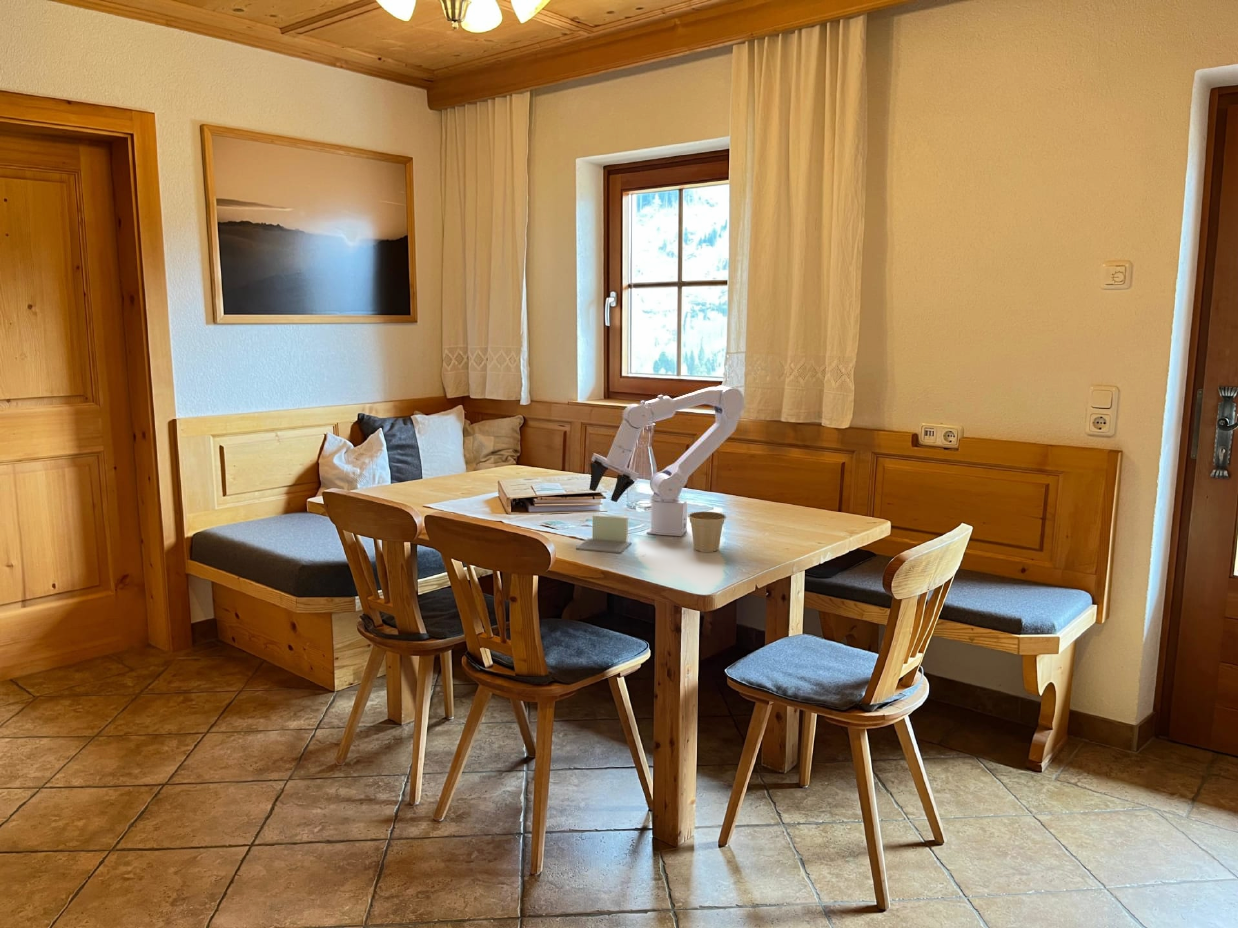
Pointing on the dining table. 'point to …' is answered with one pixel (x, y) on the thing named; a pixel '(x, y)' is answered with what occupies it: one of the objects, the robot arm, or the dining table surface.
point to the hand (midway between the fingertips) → (602, 495)
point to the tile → (610, 528)
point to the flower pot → (706, 530)
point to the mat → (604, 545)
